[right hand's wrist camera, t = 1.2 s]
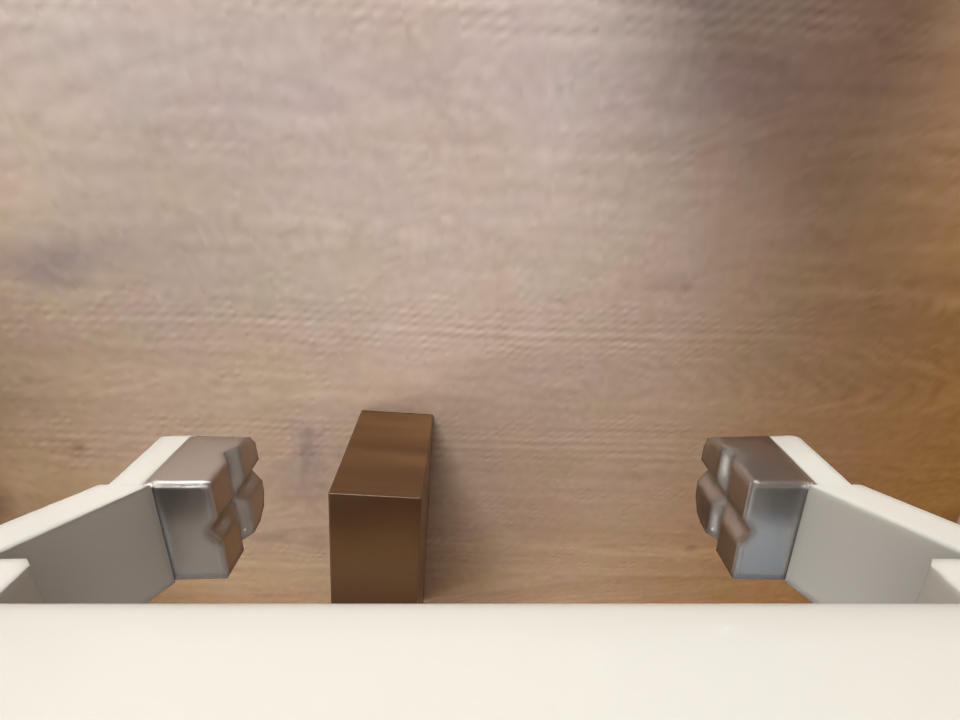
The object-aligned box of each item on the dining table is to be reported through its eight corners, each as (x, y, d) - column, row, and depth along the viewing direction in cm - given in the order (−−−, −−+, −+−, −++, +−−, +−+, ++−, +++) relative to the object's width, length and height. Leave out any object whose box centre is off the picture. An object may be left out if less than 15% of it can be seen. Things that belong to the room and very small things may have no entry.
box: (361, 410, 46) (328, 493, 35) (433, 414, 46) (421, 498, 35) (361, 597, 53) (333, 714, 42) (423, 600, 53) (411, 717, 42)
